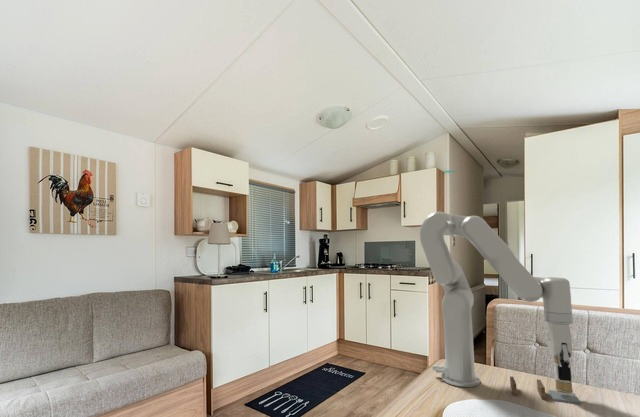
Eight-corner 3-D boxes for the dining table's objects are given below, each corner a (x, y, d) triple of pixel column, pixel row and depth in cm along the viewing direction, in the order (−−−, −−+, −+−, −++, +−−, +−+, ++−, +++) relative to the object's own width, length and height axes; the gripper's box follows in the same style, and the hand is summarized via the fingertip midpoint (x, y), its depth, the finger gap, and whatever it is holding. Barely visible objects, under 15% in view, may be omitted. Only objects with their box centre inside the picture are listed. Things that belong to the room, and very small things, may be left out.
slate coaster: (553, 400, 109) (553, 398, 109) (548, 391, 116) (548, 389, 116) (581, 404, 106) (580, 402, 107) (574, 395, 113) (574, 393, 113)
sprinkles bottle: (575, 391, 110) (572, 346, 112) (568, 395, 108) (565, 349, 109) (559, 387, 114) (556, 343, 116) (552, 390, 112) (549, 345, 113)
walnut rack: (513, 395, 113) (512, 383, 113) (510, 387, 119) (509, 376, 120) (545, 399, 110) (544, 387, 110) (540, 390, 116) (540, 379, 117)
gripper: (539, 311, 123) (543, 367, 121) (550, 321, 107) (555, 385, 105) (564, 313, 120) (569, 369, 118) (580, 323, 104) (586, 389, 102)
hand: (562, 376), depth 112 cm, fingers closed on sprinkles bottle, 4 cm apart
